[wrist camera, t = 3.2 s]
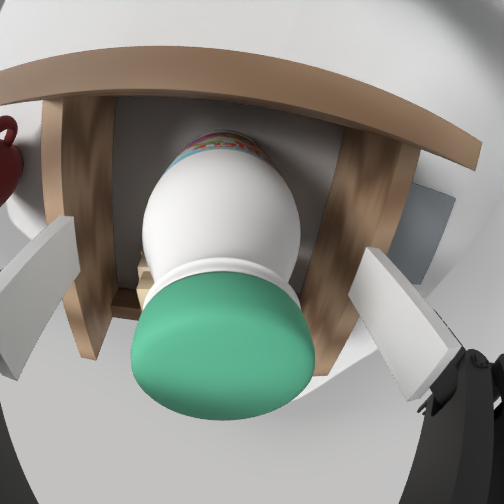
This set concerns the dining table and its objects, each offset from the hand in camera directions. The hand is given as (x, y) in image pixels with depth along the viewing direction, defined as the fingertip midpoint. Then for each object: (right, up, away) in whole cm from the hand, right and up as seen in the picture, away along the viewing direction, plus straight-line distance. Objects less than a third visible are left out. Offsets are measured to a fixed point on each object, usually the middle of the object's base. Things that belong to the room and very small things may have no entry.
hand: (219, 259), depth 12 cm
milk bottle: (-1, +7, +12) cm, 14 cm away
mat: (+18, +2, +17) cm, 25 cm away
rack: (-2, +3, +14) cm, 14 cm away
